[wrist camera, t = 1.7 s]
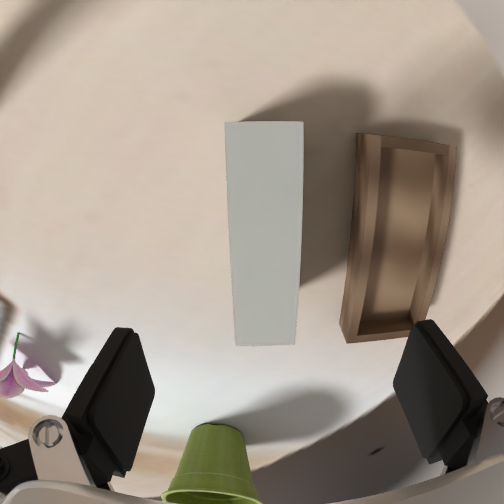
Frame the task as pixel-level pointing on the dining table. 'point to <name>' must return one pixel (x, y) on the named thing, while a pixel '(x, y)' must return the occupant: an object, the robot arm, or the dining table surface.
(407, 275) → the brown open box
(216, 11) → the dining table surface
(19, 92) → the dining table surface
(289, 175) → the pale grey block
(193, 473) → the plant pot
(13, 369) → the lily
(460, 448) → the robot arm
